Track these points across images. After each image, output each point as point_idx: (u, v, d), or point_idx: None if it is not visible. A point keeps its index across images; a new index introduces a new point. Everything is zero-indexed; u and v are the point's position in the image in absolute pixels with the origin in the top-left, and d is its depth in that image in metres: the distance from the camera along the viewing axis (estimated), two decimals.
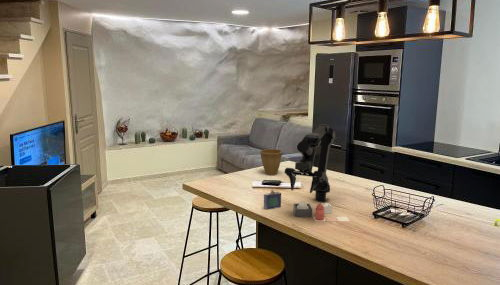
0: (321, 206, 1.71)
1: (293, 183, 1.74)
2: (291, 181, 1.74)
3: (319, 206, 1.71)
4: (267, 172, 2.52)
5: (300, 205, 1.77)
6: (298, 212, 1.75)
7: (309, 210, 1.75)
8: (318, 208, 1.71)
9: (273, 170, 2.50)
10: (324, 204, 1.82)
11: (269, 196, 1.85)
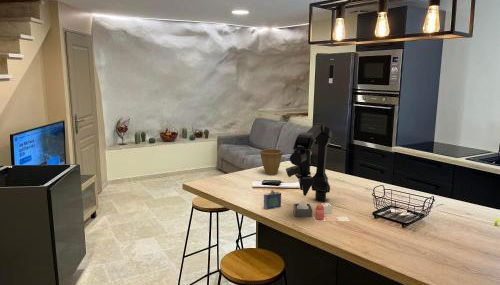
0: (321, 206, 1.71)
1: None
2: None
3: (319, 206, 1.71)
4: (267, 172, 2.52)
5: (300, 205, 1.77)
6: (298, 212, 1.75)
7: (309, 210, 1.75)
8: (318, 208, 1.71)
9: (273, 170, 2.50)
10: (324, 204, 1.82)
11: (269, 196, 1.85)
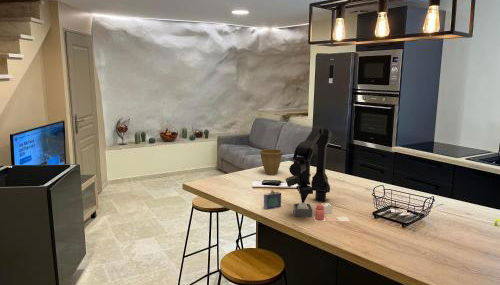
0: (321, 206, 1.71)
1: None
2: (300, 194, 1.78)
3: (319, 206, 1.71)
4: (267, 172, 2.52)
5: (300, 205, 1.77)
6: (298, 212, 1.75)
7: (309, 210, 1.75)
8: (318, 208, 1.71)
9: (273, 170, 2.50)
10: (324, 204, 1.82)
11: (269, 196, 1.85)
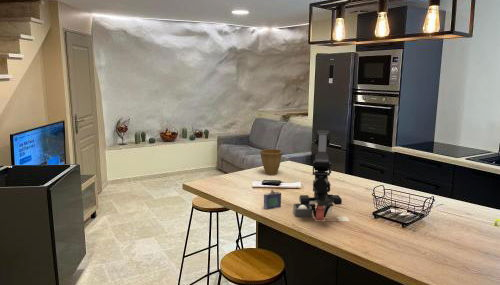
0: (321, 206, 1.71)
1: None
2: (314, 210, 1.71)
3: (319, 206, 1.71)
4: (267, 172, 2.52)
5: (300, 208, 1.78)
6: (298, 212, 1.75)
7: (309, 210, 1.75)
8: (318, 208, 1.71)
9: (273, 170, 2.50)
10: None
11: (269, 196, 1.85)
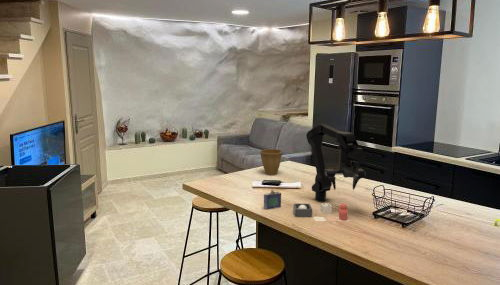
0: (344, 206, 1.71)
1: None
2: (334, 182, 1.81)
3: (342, 206, 1.71)
4: (267, 172, 2.52)
5: (300, 208, 1.78)
6: (298, 212, 1.75)
7: (309, 210, 1.75)
8: (342, 208, 1.71)
9: (273, 170, 2.50)
10: (324, 204, 1.82)
11: (269, 196, 1.85)
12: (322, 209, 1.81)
